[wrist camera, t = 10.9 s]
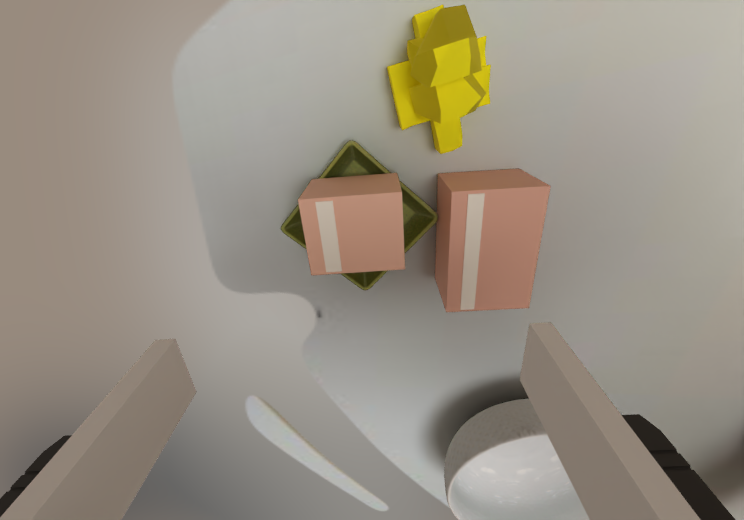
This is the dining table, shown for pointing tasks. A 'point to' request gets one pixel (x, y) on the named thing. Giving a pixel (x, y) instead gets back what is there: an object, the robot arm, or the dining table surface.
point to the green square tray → (362, 163)
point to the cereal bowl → (508, 469)
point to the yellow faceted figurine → (441, 75)
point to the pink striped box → (488, 238)
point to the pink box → (353, 224)
